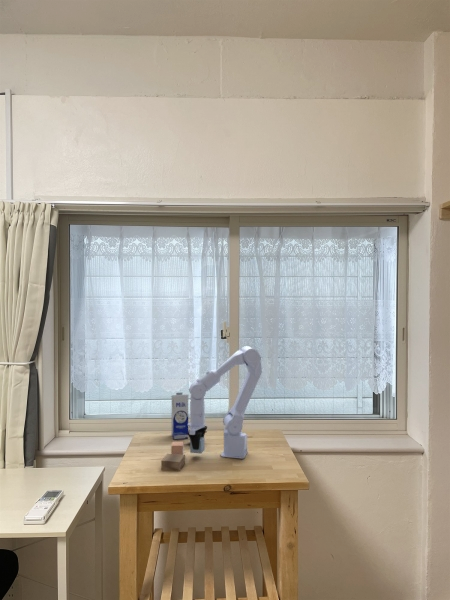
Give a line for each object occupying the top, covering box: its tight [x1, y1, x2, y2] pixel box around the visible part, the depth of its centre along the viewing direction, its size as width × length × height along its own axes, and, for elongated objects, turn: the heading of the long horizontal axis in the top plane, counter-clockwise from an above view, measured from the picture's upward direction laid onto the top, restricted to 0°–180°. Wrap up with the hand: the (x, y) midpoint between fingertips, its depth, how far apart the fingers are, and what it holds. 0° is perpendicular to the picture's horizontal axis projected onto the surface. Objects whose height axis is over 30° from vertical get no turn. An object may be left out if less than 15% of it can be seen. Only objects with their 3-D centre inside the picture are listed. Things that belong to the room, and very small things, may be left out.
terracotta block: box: [170, 441, 185, 455], centre depth 172 cm, size 4×4×5 cm
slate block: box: [189, 436, 205, 454], centre depth 171 cm, size 4×4×5 cm
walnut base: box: [160, 453, 186, 472], centre depth 161 cm, size 7×7×4 cm
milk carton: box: [170, 392, 189, 440], centre depth 195 cm, size 7×7×20 cm
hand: (197, 447), depth 171 cm, fingers closed on slate block, 4 cm apart
